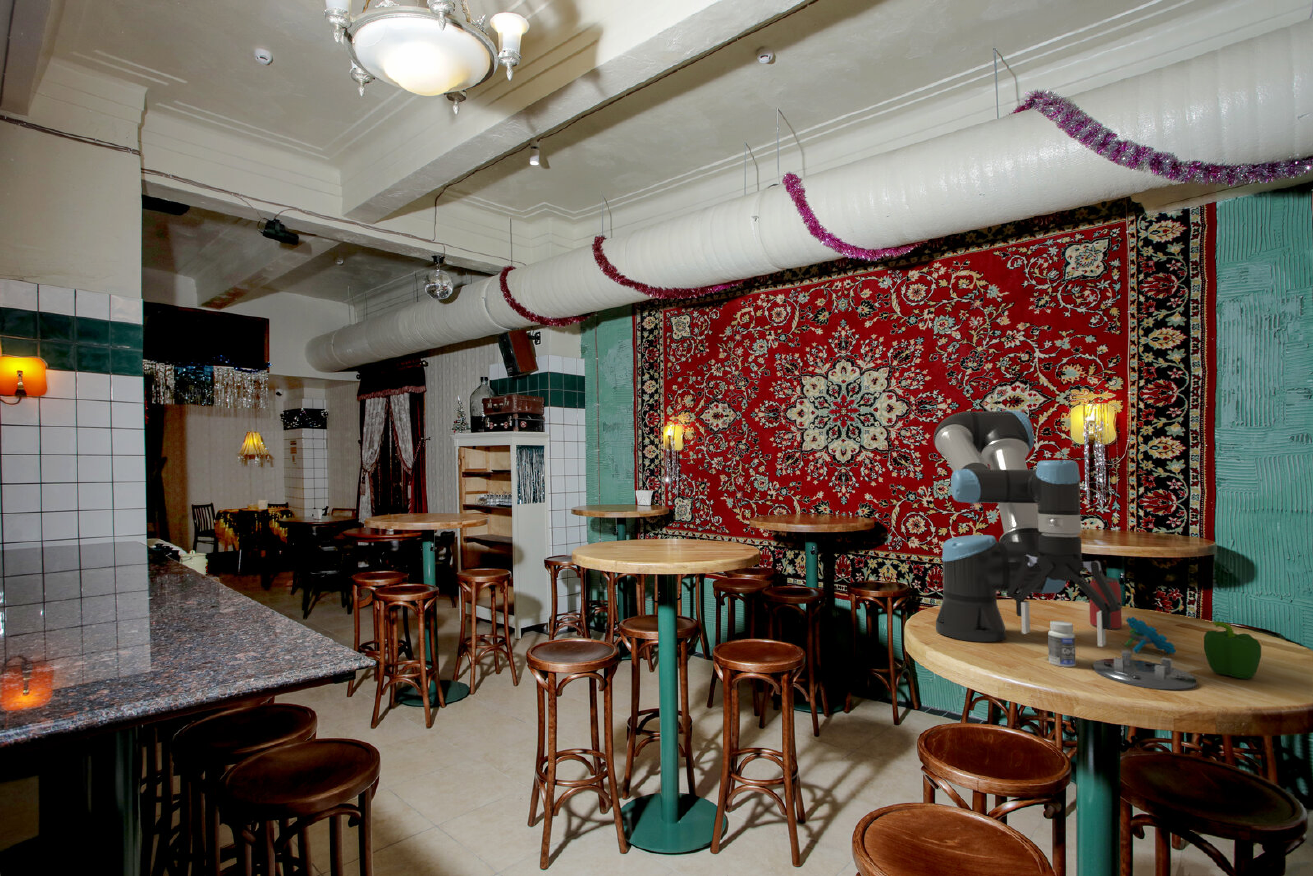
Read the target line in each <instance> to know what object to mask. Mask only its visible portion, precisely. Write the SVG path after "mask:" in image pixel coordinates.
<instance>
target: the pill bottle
mask: <svg viewBox="0 0 1313 876" xmlns="http://www.w3.org/2000/svg"><path fill="white" fill-rule="evenodd" d="M1049 628H1050V630H1049V631H1048V632H1047V633H1048V634H1047V636H1048V637H1047V638H1048V639H1047V640H1048V641H1047V642H1048V646H1047V647H1048V662H1049V664H1051V665H1054V666H1058V667H1064V668H1070V667H1071V668H1072V667H1073V668H1074V667H1075V666H1076V663H1077V661H1076V635H1075V633H1074V624H1073V623H1071V622H1068V621H1064V620H1052V621H1050V622H1049Z"/></svg>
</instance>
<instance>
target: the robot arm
mask: <svg viewBox="0 0 1313 876" xmlns="http://www.w3.org/2000/svg"><path fill="white" fill-rule="evenodd" d="M1033 427H1034V426H1033V425H1032V422H1031V420H1030V418H1029V417H1028V415H1026V413H1024V412H1022V411H1018V410H1007V409H1006V410H1003V411H997V410H996V411H961V412H957V413H954V414H951V415H949V416H947V417H946V418H944V419H943V420H942V421H941V422H940V423H939V424H938V425H937V427H936V428H935V430H934V434H933V444H934V446H935V448H936V450H937V451H938V453H940V455H942V456H943V457H944V458H945V459H946V461H947V463H948V464H949V466H950V468H951V469H950V470H951V471H952V473H951V479H950V489H951V495H952V498H953V500H954V501H956V502H958V503H968V504H976V503H978V504H981V503H982V504H984V503H985V504H986V503H988V504H991V503H992V504H997V506H998V510H999V515H1000V519H1001V523H1002V524H1001V525H1002V529H1003V534H1002V535H1001V536H1000V538H999V540H998V541H997V539H996V537H995V536H994V535H991V534H990V535H989V534H972V535H962V536H956V537H955V536H954V537H952V538H948V539H947V540H945V541H944V543H943V544H942V555H941V561H942V593H943V595H942V602H941V605H940V609H939V611H938V614H937V617H936V620H935V630H936V632H937V633H938V632H939V633H938V634H940V633H941V634H940V635H942V634H943V635H942V636H944V635H945V637H947V636H950V637H949V638H951V637H952V639H955V638H956V639H955V640H961V641H969V642H979V643H990V642H991V643H992V642H999V641H1003V640H1005V639H1006V637H1007V635H1006V632H1007V631H1006V629H1007V628H1006V625H1005V623H1004V620H1003V618H1002V615H1001V611H1000V609H999V606H998V603H997V597H998V596H997V594H998V593H997V592H1006V593H1005V595H1006V597H1007V598H1011V599H1013V600H1014V601H1015V606H1016V610H1015V611H1016V616H1017V617H1021V619H1020V620H1021V634H1025V635H1027V634H1028V633H1030V632H1031V621H1030V620H1031V619H1030V601H1029V600H1026V598H1027V597H1029V596H1030V595H1031V594H1032V593H1033V594H1034V593H1035V594H1041V595H1042V594H1057V593H1060V592H1061V591H1063V590H1064V588H1065V586H1066V584H1067V582H1070V581H1072V582H1073V583H1074V584H1076V585H1077V586H1078V587H1079V588H1080V589H1081V591H1083V592H1084V594H1085V595H1086V596H1087V597H1088V598H1090V599H1091V600H1092V601H1093V602H1094V604H1095V605H1096V606H1097V607H1098V608H1099V609H1100V610H1101V611H1099V612H1097V627H1096V631H1097V632H1096V636H1097V647H1102V648H1103V647H1104V646H1106V645H1107V644H1106V641H1107V640H1106V630H1111V629H1110V628H1111V612H1114V611H1119V610H1120V609H1121V610H1122V609H1123V605H1122V602H1121V603H1120V602H1119V600H1118V598H1117V597H1116V595H1115V593H1114V592H1113V590H1112V588H1111V586H1110V585H1109V583H1108V581H1107V580H1106V578H1105V577H1106V576H1105V574H1104V573H1103V569H1102V563H1101V562H1100V561H1099V560H1094V561H1084V559H1083V553H1082V550H1083V548H1082V538H1081V536H1078V535H1080V534H1082V522H1081V490H1080V489H1081V486H1080V485H1081V484H1080V481H1081V476H1080V468H1079V464H1078V463H1077V461H1075V460H1071V459H1068V460H1064V459H1062V460H1060V459H1058V460H1057V459H1056V460H1052V459H1051V460H1047V459H1046V460H1039V461H1038V462H1037V464H1036V469H1035V468H1034V469H1028V466H1027V462H1026V458H1027V457H1028V455H1029V453H1030V452H1031V451H1032V449H1033V447H1034V442H1035V436H1034V435H1035V434H1034V433H1033V432H1034V428H1033ZM1085 568H1086V570H1087V571H1088V572H1089V573H1091V575H1092V577H1094V579H1095V580H1096V582H1097V584H1098V585H1099V587H1100V589H1101V591H1102V592H1103V594H1104V596H1105V598H1106V599H1107V601H1108V603H1109V604H1110V605H1108V604H1107V603H1106V601H1105V600H1104V599H1103V598H1102V597H1101V596H1100V595H1099V594H1098V593H1097V592H1096V591H1095V589H1094V588H1093V587H1092V586H1091V585H1090V582H1088V581H1087V579H1086V578H1085V576H1084V575H1083V574H1082V573H1081V572H1082V571H1083V570H1084V569H1085ZM1090 599H1089V600H1090Z"/></svg>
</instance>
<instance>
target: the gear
mask: <svg viewBox="0 0 1313 876" xmlns="http://www.w3.org/2000/svg"><path fill="white" fill-rule="evenodd" d="M1125 621H1126V623H1128V624H1127V626H1128V627H1129V628H1130V630H1129V633H1130V635H1129V639H1127V641H1126V642H1125V643H1124V646H1125V647H1126V648H1129V646H1130V645H1131V644H1133V642H1134V641H1135V642H1138V643H1137V645H1135V646H1134V647H1133V648H1132V651H1133V652H1134V653H1136V654H1138V653H1139V651H1141V650H1142V649H1144V647H1145V646H1146V645H1149V644H1150V645H1151V644H1153V646H1154V647H1155V648H1156V649H1157V650H1159V651H1164V653H1166V654H1168V655H1170V654H1172V655H1174V654H1175V653H1176V652H1177V649H1175V648H1176V646H1175V645H1174V644H1173V643H1172V642H1170V641H1168V642H1167V640H1168V637H1166V636H1165V635H1163V634H1158V632H1157V629H1156V628H1155V627H1154V626H1151V625H1150V626H1148V625H1147V624H1146V622H1144V620H1141V619H1137V618H1135V616H1132V617H1129V616H1128V617H1127V618H1126V619H1125Z"/></svg>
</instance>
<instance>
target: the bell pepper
mask: <svg viewBox="0 0 1313 876" xmlns="http://www.w3.org/2000/svg"><path fill="white" fill-rule="evenodd" d="M1213 625H1214V627H1215V628H1218V627H1222V628H1223V629H1225V630H1223V631H1217V630H1206V632H1205V633H1204V636H1203V648H1204V653H1205V656H1206V660H1207V663H1208V665H1209V667H1210V669H1211V670H1212V672H1214V673H1215V674H1219V675H1223V676H1231V677H1234V678H1236V679H1245V680H1248V679H1252V678H1253V677H1254V676H1255V675H1256V673H1257V671H1258V669H1259V666H1260V662H1261V658H1262V645H1261V644H1260V642H1259V640H1258V639H1256V638H1254V637H1253V635H1251V634H1249V633H1245V632H1244V633H1238V634H1237V633H1235V632H1234V630H1233V628H1232V626H1230V625H1229V624H1227V623H1225V622H1222V621H1214V622H1213Z"/></svg>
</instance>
